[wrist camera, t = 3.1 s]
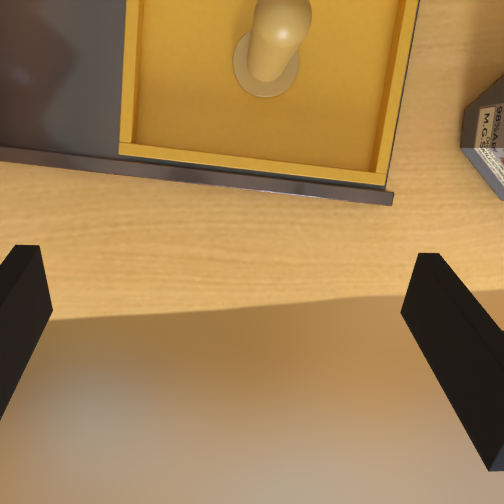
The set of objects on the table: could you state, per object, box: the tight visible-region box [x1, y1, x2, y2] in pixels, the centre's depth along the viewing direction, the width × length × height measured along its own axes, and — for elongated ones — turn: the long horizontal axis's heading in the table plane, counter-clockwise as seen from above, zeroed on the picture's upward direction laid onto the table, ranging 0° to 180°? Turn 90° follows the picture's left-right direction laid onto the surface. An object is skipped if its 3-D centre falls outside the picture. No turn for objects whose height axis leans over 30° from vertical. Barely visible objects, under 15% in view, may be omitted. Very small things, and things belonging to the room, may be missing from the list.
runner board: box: [0, 0, 420, 206], centre depth 30 cm, size 30×17×3 cm, turn 83°
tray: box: [119, 0, 418, 186], centre depth 24 cm, size 18×14×13 cm
